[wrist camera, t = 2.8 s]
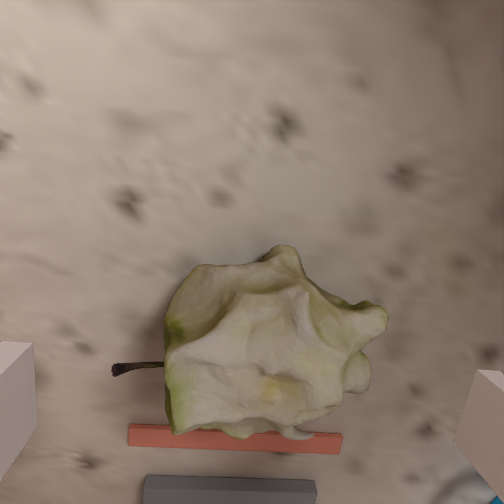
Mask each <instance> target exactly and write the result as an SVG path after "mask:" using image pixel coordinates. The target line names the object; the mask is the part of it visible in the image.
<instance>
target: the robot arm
mask: <svg viewBox="0 0 504 504" xmlns="http://www.w3.org/2000/svg"><path fill="white" fill-rule="evenodd" d="M37 427H38V425H37V407H36V388H35V370H34V351H33V343H28V342H12V341H2V342H1V343H0V481H1V480H2V478H3V477H4V475H5V474H6V472H7V471H8V469H9V468H10V466H11V465H12V464H13V462H14V461H15V459H16V458H17V456H18V455H19V453H20V452H21V450H22V449H23V447H24V446H25V444H26V443H27V442H28V440H29V439H30V437H31V436H32V434H33V433H34V431H35V430H36V428H37ZM453 442H454V443H455V444H456V445H457V447H458V448H459V449H460V450H461V451H462V453H463V454H464V455H465V456H466V458H467V459H468V460H469V461H470V463H471V464H472V465H473V466H474V468H475V469H476V470H477V471H478V472H479V474H480V475H481V476H482V477H483V479H484V480H485V481H486V482H487V484H488V485H489V486H490V487H491V488H492V490H493V491H494V492H495V493H496V495H497V496H498V497H499V498H500V500H501V501H502V502H503V503H504V374H503V373H501V372H500V371H494V370H477V371H476V374H475V377H474V380H473V383H472V386H471V389H470V391H469V394H468V397H467V400H466V403H465V406H464V409H463V412H462V415H461V418H460V421H459V424H458V427H457V429H456V432H455V435H454V438H453Z"/></svg>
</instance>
